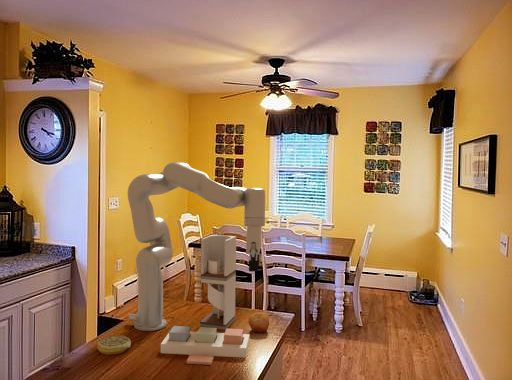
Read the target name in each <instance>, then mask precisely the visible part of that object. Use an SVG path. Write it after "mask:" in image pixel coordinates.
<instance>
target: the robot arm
mask: <svg viewBox="0 0 512 380" xmlns="http://www.w3.org/2000/svg"><path fill="white" fill-rule="evenodd" d="M178 188H181V189H183V190H185V191H188V192H191V193H193V194H195V195H197V196H199V197H200V198H203V199H204V200H205V201H207V202H209V203H212V204H215V205H216V206H219V207H222V208H225V209H235V208H239V207H240V208H241V207H244V211H243V212H244V215H243V217H244V219H243V220H244V223H243V224H244V225H243V226H245V227H246V239H245V240H246V241H245V242H246V243H245V244H246V245H245V246H246V247H245V248H246V249H245V253H246V254H249V260H248V271H249V272H258V270H259V266H260V252H261V247H262V246H261V245H262V228H263V227H265V225H266V191H265V189H264V188H263V187H262V188H261V187H260V188H259V187H242V186H241V187H240V186H232V187H229V186H227V185H224V184H221V183H219V182H216V181H214V180H212V179H211V178H210V177H209V176H208V174H207V173H205V172H204V171H200V170H198V169H195V168H192V166H190V165H189V164H188V163H185V162H183V161H182V162H179V161H177V162H176V161H174V162H168V163H167V164H166V165H165V166H164V167H163V170H162V171H161V172H160V173H142V174H140V175H138V176H136V177H134V178H133V179H132V181H131V182H130V183H129V185H128V188H127V199H128V203H129V204H128V205H129V208H130V213H131V220H132V225H133V231H134V236H135V239H136V240H137V242H139V243H141V244H149V245H148V246H146V247H143V248H142V249H140V251H139V252H138V253H137V255H136V258H135V266H136V269H137V289H138V291H137V292H138V293H137V297H138V298H137V299H138V300H137V305H138V307H137V310H138V311H137V313H128V315H127V318H128V321H135V322H133V327H134V328H135V329H136V330H138V331H141V332H152V331H153V332H154V331H158V330H162V329H164V328H165V327H166V326H167V324H168V323H167V320H166V319H165V318H163V317H164V315H163V314H164V277H163V273H162V270H161V269H162V267H164V266H166V265H168V264H169V263H170V262H171V261H172V259H173V256H174V255H173V253H174V252H173V245H172V240H171V234H170V228H169V226H168V224H167V222H166V220H165V219H163V218H162V217H158V216H155V212H154V207H153V204H152V202H151V200H150V196H157V195H163V194H166V193H168V192H171V191H173V190H175V189H178Z"/></svg>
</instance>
